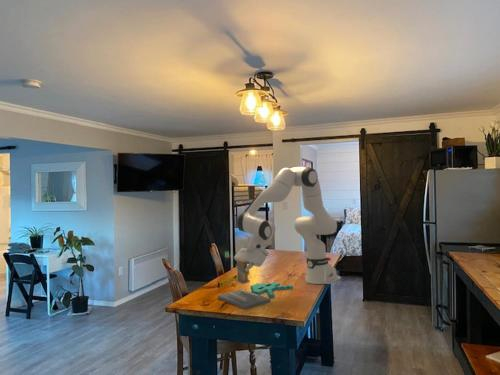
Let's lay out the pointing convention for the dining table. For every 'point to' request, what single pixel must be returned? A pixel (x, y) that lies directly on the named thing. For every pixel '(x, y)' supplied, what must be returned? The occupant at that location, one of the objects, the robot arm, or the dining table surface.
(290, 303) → the dining table surface
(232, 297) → the plate
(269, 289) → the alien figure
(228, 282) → the spirit level
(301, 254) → the dining table surface
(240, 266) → the grey brown upright block
